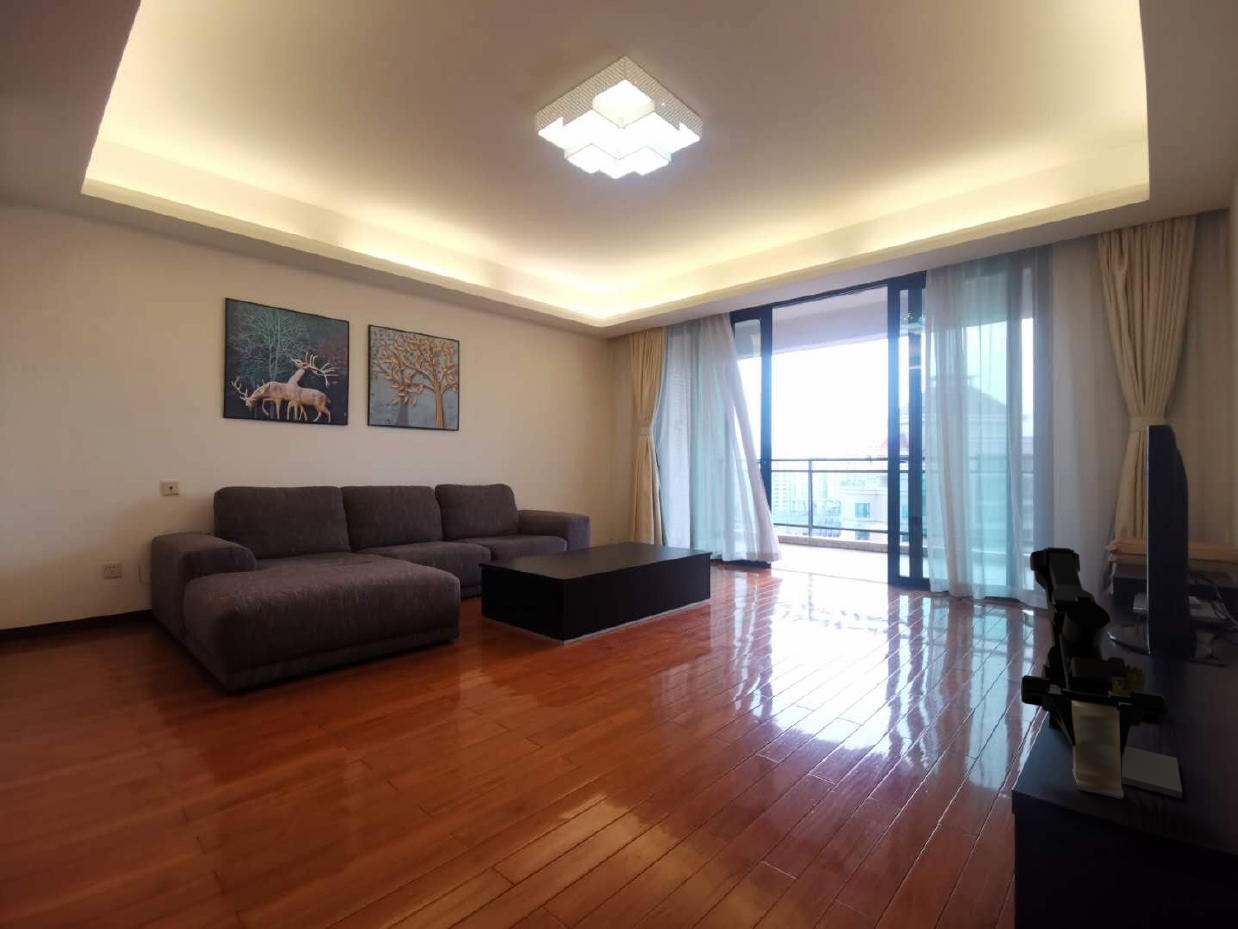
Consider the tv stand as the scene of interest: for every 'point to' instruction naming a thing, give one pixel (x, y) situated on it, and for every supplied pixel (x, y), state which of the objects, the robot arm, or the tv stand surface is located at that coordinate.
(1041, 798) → the tv stand surface
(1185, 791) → the tv stand surface
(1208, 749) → the tv stand surface
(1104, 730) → the tapered block
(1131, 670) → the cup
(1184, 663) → the tv stand surface
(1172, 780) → the slate tile
